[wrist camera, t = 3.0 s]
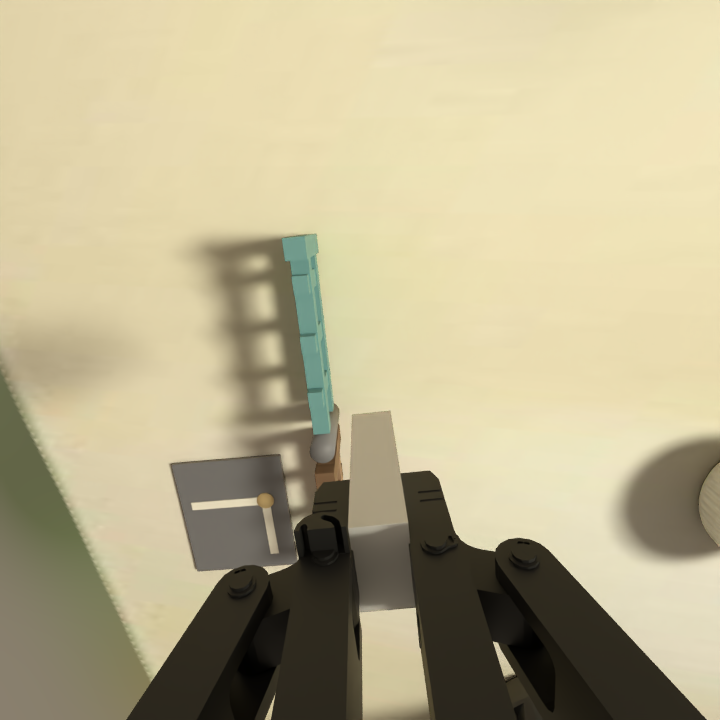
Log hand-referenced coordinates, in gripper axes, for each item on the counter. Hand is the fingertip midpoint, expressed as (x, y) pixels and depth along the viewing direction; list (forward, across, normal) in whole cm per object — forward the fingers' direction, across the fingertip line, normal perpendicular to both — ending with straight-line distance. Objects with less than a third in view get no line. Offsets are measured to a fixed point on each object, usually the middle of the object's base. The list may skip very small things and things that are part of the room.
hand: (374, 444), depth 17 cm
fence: (+20, +4, 0) cm, 20 cm away
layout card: (+20, +14, +17) cm, 30 cm away
